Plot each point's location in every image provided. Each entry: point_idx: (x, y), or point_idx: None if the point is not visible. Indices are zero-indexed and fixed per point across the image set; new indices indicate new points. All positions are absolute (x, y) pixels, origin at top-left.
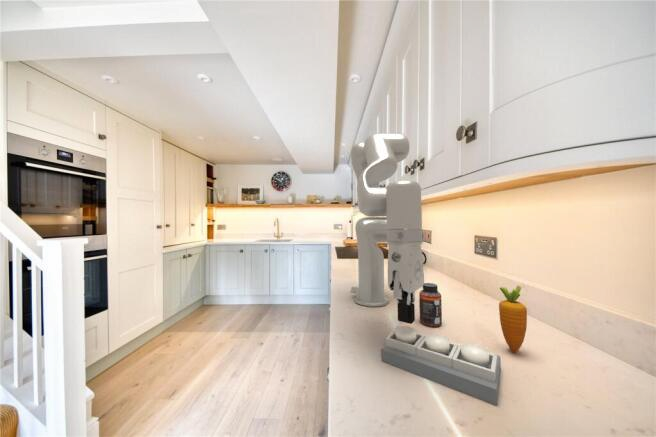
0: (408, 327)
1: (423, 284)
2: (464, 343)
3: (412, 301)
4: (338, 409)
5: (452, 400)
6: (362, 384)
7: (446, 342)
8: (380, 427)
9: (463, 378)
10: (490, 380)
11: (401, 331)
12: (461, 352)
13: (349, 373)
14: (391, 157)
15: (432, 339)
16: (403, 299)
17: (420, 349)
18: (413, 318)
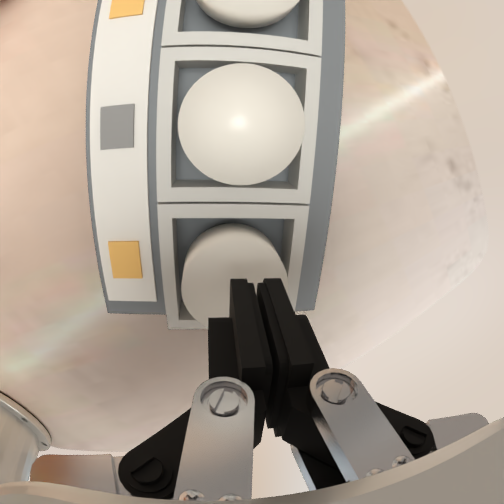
0: (196, 290)
1: (34, 501)
2: (218, 1)
3: (249, 391)
4: (465, 272)
5: (372, 72)
6: (409, 275)
7: (261, 74)
8: (478, 200)
9: (344, 33)
10: None
11: None
12: (265, 19)
13: (385, 316)
14: None
15: (269, 143)
16: (409, 420)
17: (310, 184)
18: (248, 291)
